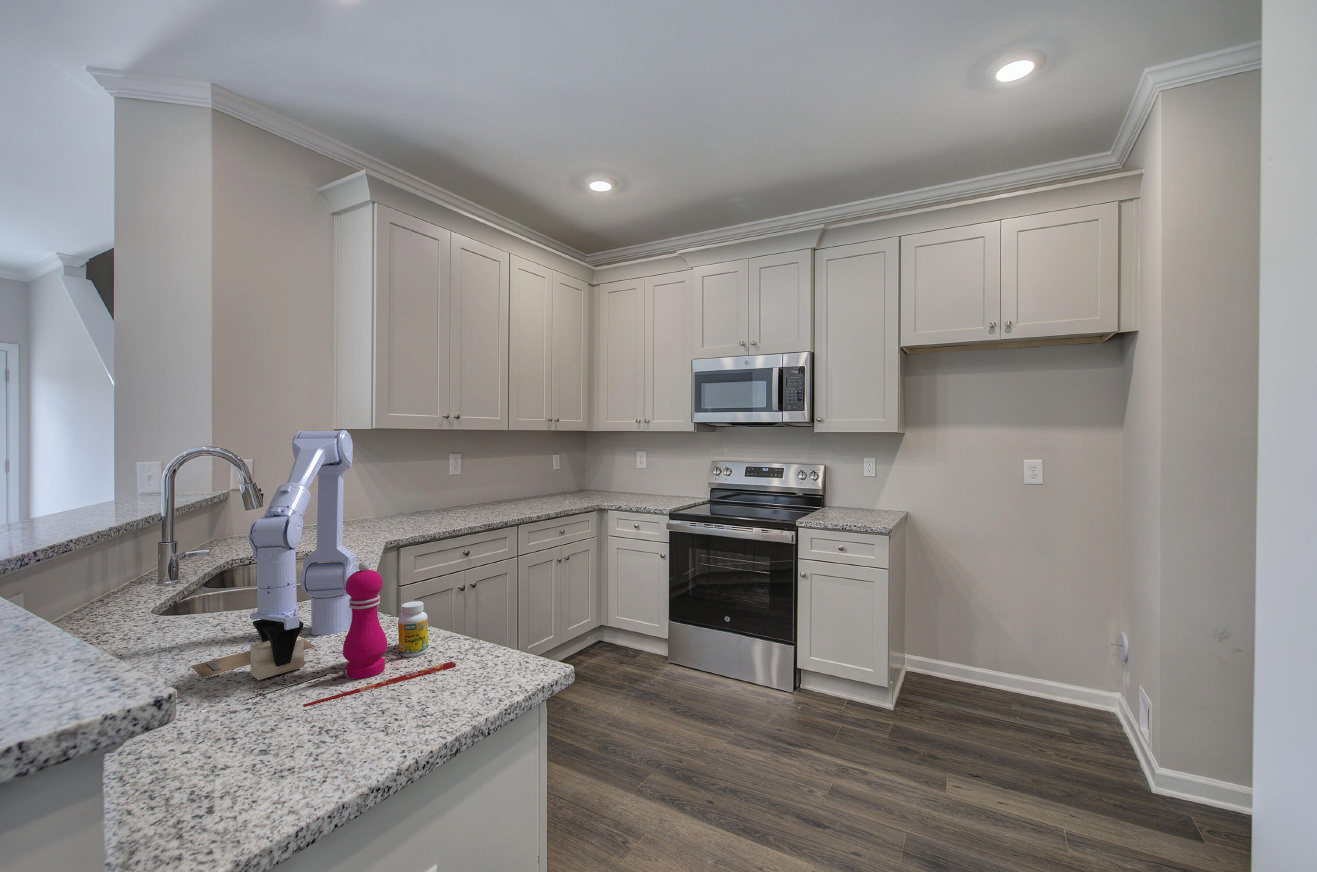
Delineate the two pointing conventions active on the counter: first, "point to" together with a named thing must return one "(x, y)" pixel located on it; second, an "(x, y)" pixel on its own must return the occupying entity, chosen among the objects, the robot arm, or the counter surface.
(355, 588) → the pepper mill
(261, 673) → the cap
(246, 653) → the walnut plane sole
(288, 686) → the slate mat
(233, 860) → the counter surface
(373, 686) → the chopstick
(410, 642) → the supplement bottle
